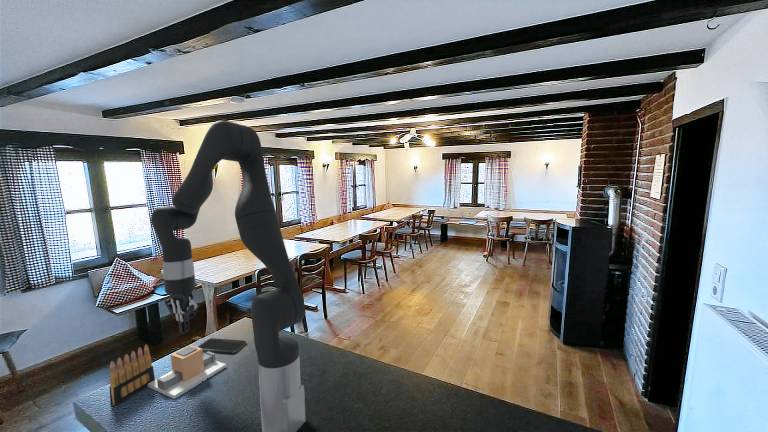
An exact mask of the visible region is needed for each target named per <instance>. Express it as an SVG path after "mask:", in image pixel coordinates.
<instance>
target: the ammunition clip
mask: <svg viewBox="0 0 768 432" xmlns="http://www.w3.org/2000/svg"><path fill="white" fill-rule="evenodd" d="M116 361H117V363H116V364H115V361H113V360H111V361H110V364H109V383H110V384H109V385H110V386H109V399H110V406H113V407H114V406H115V407H117V406H119V405H120V404H122V403H124V402H125V401H127V400H128V399H130V398H132V397H133V396H135V395H136V394H138V393H140V392H141V391H143V390H144V389H146V388H149V387H148V383H150V382H152V381H154V380H156V377H155V372H154V371H155V370H154V366H153V364H152V356H151V353H150V348H149V345H148V344H145V345H144V353H143V349H142V347H138V351H137V355H136V352H135V351H134V350H132V351H131V354H130V356H129V355H128V353H126V354H125V355H124V360H122V358H121V357H118V359H117V360H116ZM116 368H117V369H116Z"/></svg>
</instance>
